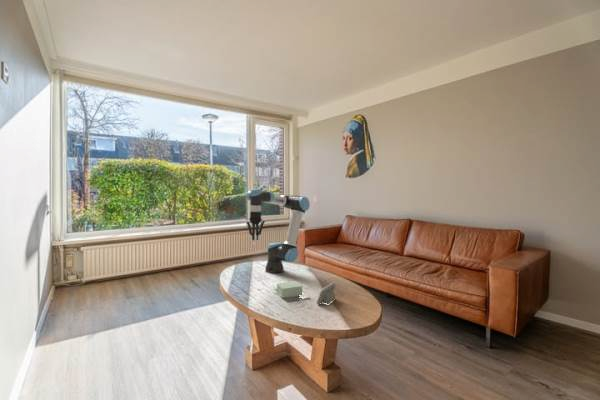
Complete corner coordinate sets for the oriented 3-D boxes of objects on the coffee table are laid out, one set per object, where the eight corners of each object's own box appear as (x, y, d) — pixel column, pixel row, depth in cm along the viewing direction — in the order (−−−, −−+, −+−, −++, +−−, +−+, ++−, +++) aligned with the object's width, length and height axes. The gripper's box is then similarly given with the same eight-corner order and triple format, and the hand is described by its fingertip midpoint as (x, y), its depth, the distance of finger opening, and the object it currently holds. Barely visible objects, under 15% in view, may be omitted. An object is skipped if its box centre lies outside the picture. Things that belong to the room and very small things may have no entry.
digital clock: (328, 296, 187) (329, 280, 186) (339, 300, 181) (340, 284, 180) (312, 303, 175) (312, 286, 175) (323, 308, 169) (324, 290, 168)
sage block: (276, 292, 190) (295, 289, 195) (282, 298, 181) (302, 295, 186) (277, 283, 189) (296, 281, 195) (282, 288, 180) (302, 286, 186)
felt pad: (296, 286, 202) (296, 285, 202) (310, 298, 182) (310, 297, 182) (275, 289, 196) (275, 288, 196) (287, 302, 176) (287, 301, 176)
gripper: (247, 211, 191) (247, 246, 193) (266, 211, 196) (265, 245, 198) (245, 210, 198) (244, 244, 199) (263, 210, 203) (262, 243, 205)
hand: (254, 244), depth 199 cm, fingers closed
